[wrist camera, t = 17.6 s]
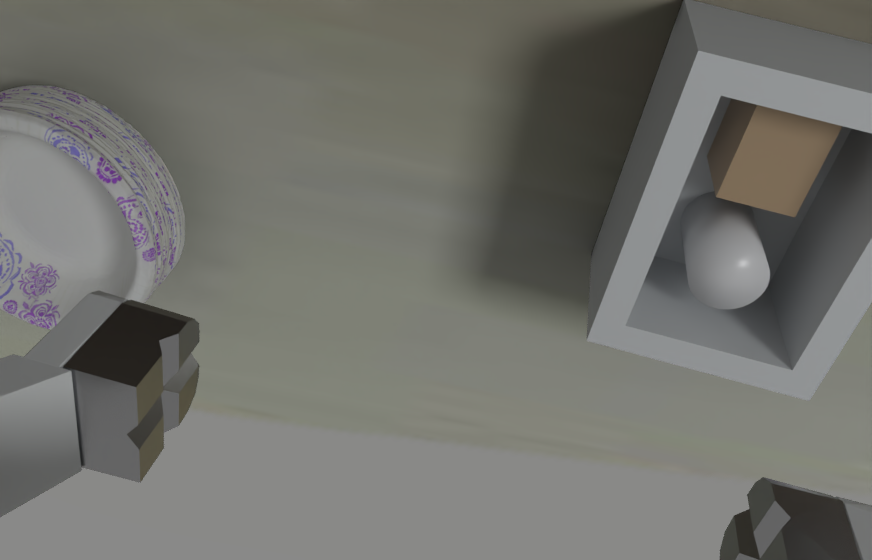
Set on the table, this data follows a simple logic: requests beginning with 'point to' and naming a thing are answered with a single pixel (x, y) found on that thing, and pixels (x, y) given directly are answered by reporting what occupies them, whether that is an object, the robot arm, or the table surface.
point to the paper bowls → (79, 206)
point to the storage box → (743, 205)
